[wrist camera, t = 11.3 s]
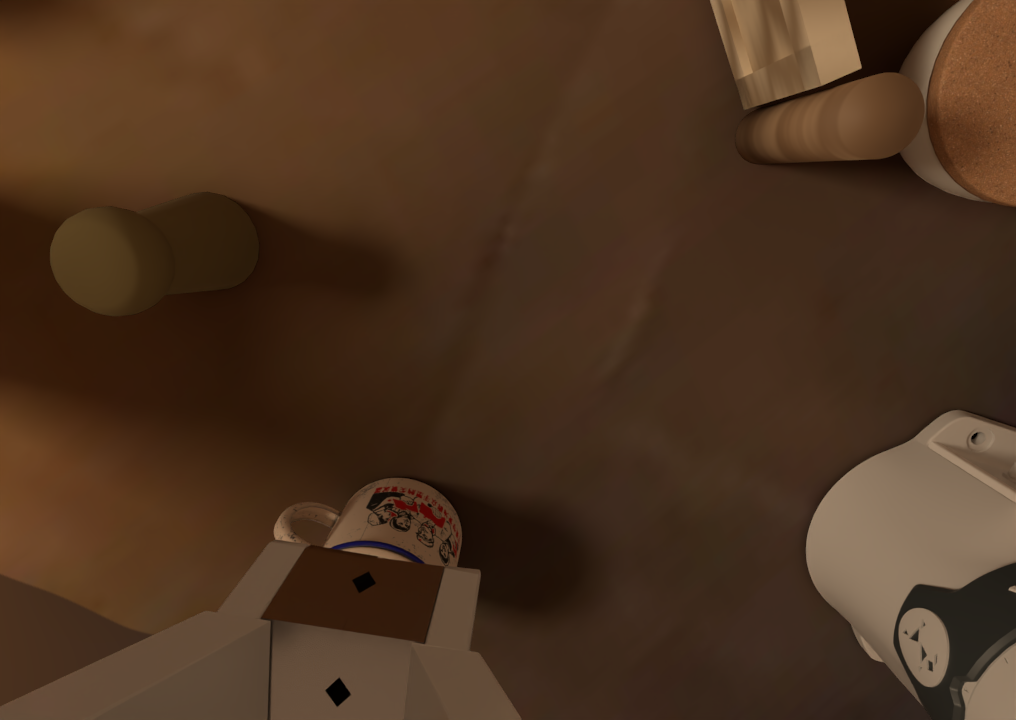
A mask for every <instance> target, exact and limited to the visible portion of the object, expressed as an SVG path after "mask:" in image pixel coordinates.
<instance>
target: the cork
mask: <svg viewBox="0 0 1016 720" xmlns="http://www.w3.org/2000/svg"><path fill="white" fill-rule="evenodd" d="M258 255H259V240H258V236H257V231H256V228H255V226H254V225H253V223H252V221H251V219H250V217H249V215H248V214H247V213H246V212H245V211H244V210H243V209H242V208H241V207H240V206H239V205H238V204H237V203H236V202H234V201H232V200H230V199H228V198H227V197H225V196H223V195H220V194H215V193H210V192H201V193H193V194H189V195H186V196H183V197H180V198H177V199H174V200H171V201H168V202H165V203H162V204H159V205H156V206H153V207H150V208H147V209H144V210H141V211H138V212H134V211H130V210H127V209H122V208H117V207H112V206H108V207H97V208H89V209H85V210H83V211H81V212H79V213H77V214H75V215H73V216H72V217H70V218H68V219H66V220H65V221H64V223H63V224H62V225H61V226H60V227H59V229H58V230H57V231H56V233H55V235H54V238H53V241H52V244H51V247H50V265H51V268H52V271H53V274H54V277H55V279H56V281H57V282H58V284H59V285H60V287H61V288H62V290H63V291H64V292H65V293H66V294H67V295H68V296H69V297H70V298H71V299H72V300H73V301H74V302H76V303H77V304H79V305H81V306H83V307H85V308H87V309H89V310H91V311H92V312H94V313H98V314H103V315H108V316H125V315H134V314H137V313H140V312H142V311H144V310H146V309H148V308H150V307H152V306H154V305H156V304H157V303H158V302H159V301H160V300H161V299H162V298H163V297H164V296H165V295H171V294H181V293H191V292H201V291H211V290H221V289H230V288H232V287H234V286H236V285H239V284H241V283H243V282H244V281H245V280H246V279H247V278H248V276H249V275H250V274H251V273H252V272H253V270H254V268H255V265H256V263H257V261H258Z"/></svg>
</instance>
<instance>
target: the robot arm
mask: <svg viewBox="0 0 1016 720" xmlns="http://www.w3.org/2000/svg"><path fill="white" fill-rule="evenodd" d="M977 432H978V434H977V436H976V437H975V438H974V439H972V440H971V437H972V435H973V434H975V433H977ZM806 559H807V565H808V569H809V573H810V576H811V578H812V581H813V583H814V585H815V587H816V588H817V590H818V591H819V593H820V594H821V595H822V597H823V598H824V599H825V600H826V601H827V602H828V603H829V604H830V605H831V606H832V607H833V608H834V609H836V610H837V611H838V612H839V613H840V614H841V615H842V616H843V617H844V618H845V619H846V620H847V621H848V622H849V623H850V624H851V626H852V628H853V631H854V633H855V636H856V638H857V640H858V642H859V644H860V645H861V647H862V648H863V649H864V650H865V651H866V652H867V654H868V655H869V656H870V657H871V658H872V659H874V660H876V661H880V662H884V663H885V664H886V665H887V666H888V667H889V668H890V670H891V671H892V672H893V673H894V674H895V675H896V676H897V678H898V679H899V680H900V681H901V682H902V683H903V684H904V685H905V687H906V688H907V689H908V690H909V691H910V692H911V693H912V694H913V696H914V697H915V698H916V699H917V700H918V701H919V702H920V703H921V705H922V706H923V707H924V708H925V710H926V711H927V713H928V714H929V715H930V717H931V718H932V720H1016V428H1014V427H1011V426H1008V425H1005V424H1002V423H999V422H996V421H993V420H990V419H987V418H984V417H981V416H978V415H975V414H972V413H969V412H966V411H962V410H953V411H949V412H947V413H945V414H943V415H941V416H940V417H938V418H937V419H936V420H934V421H933V422H932V423H930V424H929V425H928V426H927V427H926V428H925V429H923V430H922V431H921V432H920V433H919V434H918V435H917V436H916V437H914V438H913V439H912V440H910V441H908V442H906V443H904V444H902V445H900V446H897V447H895V448H892V449H890V450H887V451H885V452H882V453H880V454H878V455H875V456H873V457H871V458H870V459H868V460H866V461H864V462H863V463H861V464H859V465H858V466H856V467H855V468H853V469H852V470H851V471H849V472H848V473H847V474H846V475H844V476H843V477H842V478H841V479H840V480H839V481H838V482H837V483H836V484H835V485H834V486H833V487H832V488H831V489H830V491H829V492H828V493H827V494H826V496H825V497H824V499H823V500H822V501H821V503H820V505H819V506H818V508H817V510H816V512H815V514H814V516H813V519H812V521H811V524H810V527H809V531H808V536H807V542H806ZM480 577H481V572H480V570H478V569H470V568H461V567H452V566H446V567H444V566H437V565H430V564H423V563H416V562H409V561H401V560H394V559H387V558H380V557H378V556H372V555H367V554H361V553H355V552H349V551H344V550H338V549H332V548H326V547H321V546H315V545H310V546H309V545H307V544H303V543H296V542H289V541H283V540H274V541H272V542H270V543H269V544H268V545H267V546H266V547H265V549H264V550H263V551H262V553H261V554H260V555H259V557H258V558H257V559H256V561H255V562H254V563H253V565H252V566H251V567H250V569H249V570H248V571H247V572H246V574H245V575H244V576H243V578H242V579H241V580H240V582H239V583H238V584H237V586H236V587H235V588H234V590H233V591H232V592H231V594H230V595H229V596H228V598H227V599H226V600H225V602H224V603H223V604H222V605H221V607H220V608H219V609H218V611H217V612H209V611H204V612H202V613H200V614H198V615H196V616H193V617H191V618H189V619H187V620H185V621H183V622H181V623H178V624H176V625H174V626H172V627H170V628H168V629H166V630H163V631H161V632H159V633H157V634H155V635H153V636H151V637H149V638H146V639H144V640H142V641H140V642H138V643H136V644H134V645H132V646H129V647H127V648H125V649H123V650H120V651H118V652H116V653H114V654H112V655H110V656H108V657H106V658H104V659H101V660H99V661H97V662H95V663H93V664H91V665H88V666H87V667H84V668H82V669H80V670H78V671H76V672H73V673H71V674H69V675H67V676H65V677H63V678H60V679H58V680H56V681H54V682H52V683H50V684H48V685H45V686H43V687H41V688H39V689H37V690H35V691H33V692H30V693H28V694H27V695H24V696H22V697H20V698H18V699H15V700H13V701H11V702H9V703H7V704H5V705H3V706H0V720H522V719H521V717H520V716H519V714H518V713H517V711H516V710H515V708H514V706H513V705H512V703H511V702H510V700H509V699H508V697H507V695H506V694H505V692H504V691H503V689H502V688H501V686H500V684H499V683H498V681H497V680H496V678H495V677H494V675H493V673H492V672H491V670H490V669H489V667H488V666H487V664H486V662H485V661H484V659H483V658H482V656H481V655H480V653H477V652H471V651H470V647H471V640H472V633H473V626H474V619H475V612H476V605H477V598H478V591H479V584H480Z"/></svg>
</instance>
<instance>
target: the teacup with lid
mask: <svg viewBox="0 0 1016 720" xmlns="http://www.w3.org/2000/svg"><path fill="white" fill-rule="evenodd" d="M298 520H313V521H316V522H319V523H322V524H324V525H326V526H328V527H330V528H331V529H332V530H331V532H330V534H329V535H328V537H327V539H326V540H325V542H324V544H323V546H322V547H326V548H332V549H338V550H344V551H349V552H355V553H361V554H367V555H372V556H378V557H380V558H387V559H394V560H401V561H409V562H416V563H423V564H430V565H437V566H444V567H446V566H452V567H457V564H458V559H459V554H460V549H461V544H462V529H461V524H460V521H459V518H458V515H457V513H456V511H455V510H454V508H453V506H452V505H451V504H450V502H449V501H448V500H447V499H446V498H445V497H444V496H443V495H442V494H441V493H440V492H438V491H437V490H435V489H434V488H432V487H431V486H429V485H427V484H424V483H422V482H419V481H416V480H412V479H407V478H387V479H382V480H378V481H375V482H372V483H370V484H368V485H366V486H365V487H363V488H361V489H360V490H359V491H358V492H356V493H355V494H354V495H353V496H352V498H351V499H350V500H349V501H348V503H347V504H346V506H345V508H344V510H343V511H342V512H340V511H338V510H336V509H334V508H331V507H329V506H327V505H324V504H321V503H316V502H303V503H298V504H295V505H293V506H291V507H289V508H287V509H286V510H285V511H284V512H283V513H282V514H281V515H280V517H279V518H278V520H277V522H276V524H275V527H274V536H275V539H276V540H283V541H289V542H296V543H303V544H307V545H309V546H310V545H312V544H310V543H308V542H306V541H305V540H303V539H302V538H300V537H299V536H298V535H297V534H296V533H295V532H294V531H293V529H292V527H291V523H292V522H295V521H298Z"/></svg>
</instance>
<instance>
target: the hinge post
mask: <svg viewBox="0 0 1016 720" xmlns="http://www.w3.org/2000/svg"><path fill="white" fill-rule="evenodd" d="M924 112H925V104H924V99H923V95H922V93H921V91H920V89H919V87H918V86H917V85H916V84H915V82H914V81H912V80H911V79H910V78H908V77H906V76H905V75H902V74H899V73H891V72H888V73H881V74H876V75H873V76H870V77H866V78H863V79H859V80H856V81H853V82H849V83H846V84H842V85H839V86H836V87H832V88H829V89H825V90H822V91H819V92H815V93H812V94H808V95H805V96H801V97H798V98H795V99H791V100H788V101H784V102H781V103H778V104H774V105H771V106H767V107H764V108H761V109H757V110H754V111H752V112H751V113H749V114H748V115H746V116H745V117H744V118H743V119H742V121H741V122H740V124H739V126H738V128H737V131H736V135H735V144H736V148H737V151H738V152H739V154H740V155H741V157H742V158H743V159H745V160H746V161H748V162H750V163H754V164H774V163H797V162H821V161H844V160H868V159H882V158H887V157H890V156H893V155H895V154H897V153H898V152H900V151H902V150H903V149H904V148H906V147H907V146H908V145H909V144H910V143H911V142H912V141H913V139H914V138H915V137H916V135H917V133H918V132H919V130H920V128H921V125H922V122H923V118H924Z"/></svg>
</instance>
